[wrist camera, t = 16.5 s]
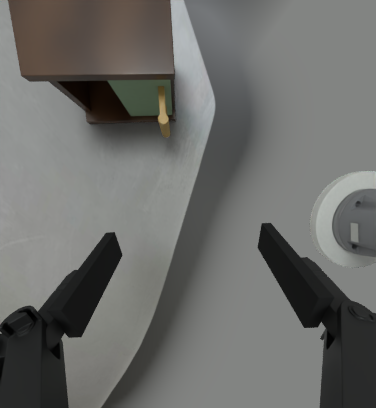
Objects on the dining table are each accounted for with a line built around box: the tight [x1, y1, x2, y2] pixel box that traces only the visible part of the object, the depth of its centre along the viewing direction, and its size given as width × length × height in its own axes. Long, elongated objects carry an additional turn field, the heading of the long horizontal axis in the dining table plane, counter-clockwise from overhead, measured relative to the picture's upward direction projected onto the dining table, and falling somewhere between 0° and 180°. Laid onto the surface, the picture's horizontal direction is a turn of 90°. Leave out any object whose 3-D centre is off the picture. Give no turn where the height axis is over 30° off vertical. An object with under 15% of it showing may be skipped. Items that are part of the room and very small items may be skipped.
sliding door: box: [108, 80, 172, 138], centre depth 24 cm, size 8×6×10 cm
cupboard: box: [8, 0, 176, 124], centre depth 23 cm, size 16×10×13 cm, turn 93°
